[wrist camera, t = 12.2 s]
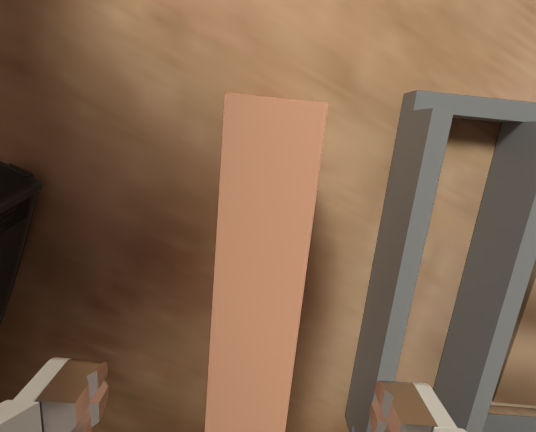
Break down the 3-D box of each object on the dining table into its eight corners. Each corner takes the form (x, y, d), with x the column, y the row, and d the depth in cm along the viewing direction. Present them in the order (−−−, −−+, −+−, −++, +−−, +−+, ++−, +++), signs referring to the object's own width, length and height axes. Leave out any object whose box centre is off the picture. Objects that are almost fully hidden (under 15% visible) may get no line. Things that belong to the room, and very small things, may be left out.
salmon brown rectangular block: (243, 111, 23) (225, 92, 11) (295, 117, 23) (328, 103, 11) (226, 342, 27) (200, 501, 16) (269, 345, 27) (275, 505, 16)
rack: (404, 93, 23) (437, 84, 18) (671, 121, 23) (765, 119, 19) (344, 415, 29) (359, 465, 25) (555, 429, 30) (606, 481, 25)
